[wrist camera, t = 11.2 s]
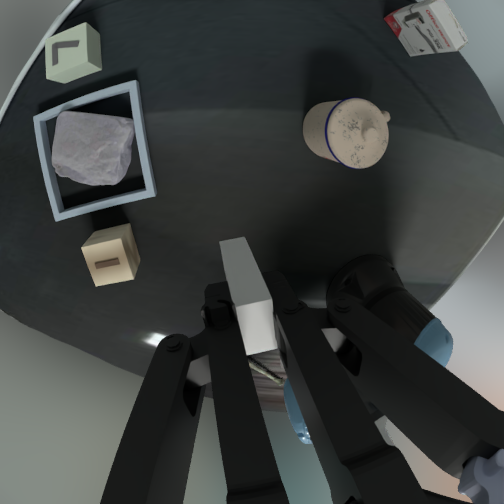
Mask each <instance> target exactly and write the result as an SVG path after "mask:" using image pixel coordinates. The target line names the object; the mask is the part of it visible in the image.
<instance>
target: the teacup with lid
mask: <svg viewBox="0 0 504 504" xmlns="http://www.w3.org/2000/svg"><path fill="white" fill-rule="evenodd" d="M389 120H390V115H389V113H388V112H387V111H380V110H379V109H378V108H377V107H376V106H375V105H374V104H373V103H371V102H369V101H367V100H365V99H362V98H357V97H351V98H346V99H344V100H340V101H331V102H323V103H320V104H317V105H315V106H314V107H313V108H311V109H310V110H309V112H308V113H307V115H306V116H305V119H304V122H303V136H304V139H305V142H306V144H307V145H308V147H309V148H310V149H311V150H312V151H313V152H314V153H315V154H317V155H318V156H320V157H323V158H326V159H330V160H333V161H336V162H339V163H341V164H342V165H344V166H346V167H349V168H352V169H363V168H367V167H369V166H372V165H373V164H375V163H376V162H377V161H378V160H379V159H380V158H381V157H382V156H383V154H384V152H385V150H386V148H387V144H388V138H389V132H388V126H387V122H388V121H389Z"/></svg>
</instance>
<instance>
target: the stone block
mask: <svg viewBox="0 0 504 504" xmlns="http://www.w3.org/2000/svg"><path fill="white" fill-rule="evenodd" d="M56 123H57V124H56V131H55V136H54V143H53V147H52V166H53V167H55V172H56V173H58V175H59V176H61V177H69V178H70V179H72V180H74V181H77V182H80V183H84V184H85V183H86V184H89V185H100V184H101V185H105V184H107V185H114V184H117V183H118V182H120V181H121V179H122V178H123V177H124V176H125V174H126V172H127V169H128V166H129V165H130V161H131V151H132V148H131V144H132V141H133V137H134V133H135V126H134V120H133V119H130V118H124V117H117V116H109V115H101V114H93V113H84V112H74V111H62V112H61V113H60V114H59V116H58V118H57V121H56Z"/></svg>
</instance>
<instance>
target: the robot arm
mask: <svg viewBox="0 0 504 504" xmlns="http://www.w3.org/2000/svg"><path fill="white" fill-rule="evenodd" d="M220 248H221V253H222V258H223V263H224V269H225V274H226V279H227V281H225V282H220V283H214V284H209V285H208V286H207V287H206V289H205V291H204V292H205V304H204V305H203V306H202V309H201V313H202V316H203V320H204V323H205V329H204V330H203V331H202V332H201V333H199V334H198V335H196V336H194V337H191V338H188V337H187V336H185V335H183V334H172V335H169V336H167V337H165V338H164V339H162V340H161V341H160V343H159V344H158V346H157V349H156V351H155V354H154V356H153V358H152V361H151V363H150V366H149V368H148V371H147V373H146V376H145V378H144V381H143V383H142V386H141V388H140V391H139V394H138V396H137V398H136V401H135V404H134V406H133V409H132V412H131V414H130V417H129V420H128V422H127V425H126V428H125V430H124V433H123V436H122V439H121V442H120V444H119V447H118V450H117V453H116V456H115V459H114V462H113V465H112V468H111V471H110V474H109V477H108V480H107V483H106V486H105V489H104V492H103V496H102V499H101V502H100V504H183V500H184V495H185V489H186V484H187V479H188V473H189V467H190V463H191V458H192V453H193V448H194V442H195V437H196V432H197V428H198V423H199V418H200V412H201V407H202V403H203V398H204V393H205V388H206V383H209V382H211V383H212V391H213V399H214V407H215V414H216V421H217V427H218V435H219V442H220V448H221V454H222V460H223V466H224V472H225V478H226V484H227V490H228V493H227V497H226V501H227V504H289V500H288V497H287V494H286V491H285V488H284V486H283V483H282V481H281V477H280V474H279V471H278V467H277V464H276V460H275V457H274V453H273V450H272V446H271V443H270V440H269V436H268V433H267V429H266V425H265V422H264V418H263V414H262V411H261V407H260V403H259V400H258V396H257V392H256V388H255V385H254V381H253V377H252V373H251V369H250V366H249V362H248V358H247V355H250V354H255V353H260V352H264V351H268V350H273V349H277V344H278V346H279V350H280V361H281V368H283V367H284V369H285V371H286V374H287V377H288V378H287V379H286V381H285V384H284V399H285V404H286V409H287V412H288V415H289V418H290V421H291V424H292V426H293V428H294V430H295V432H296V433H297V435H298V437H299V439H300V440H301V441H302V442H303V443H305V444H308V443H309V444H311V443H313V445H314V447H315V450H316V453H317V455H318V458H319V461H320V463H321V466H322V468H323V471H324V473H325V476H326V479H327V481H328V483H329V487H330V490H331V497H332V501H333V504H504V411H501V410H498V409H497V408H496V407H495V406H494V405H492V404H491V403H490V402H489V401H487V400H486V399H485V398H483V397H482V396H481V395H480V394H478V393H477V392H476V391H475V390H473V389H472V388H471V387H469V386H468V385H467V384H465V383H464V382H462V380H460V379H459V378H458V377H456V376H455V375H454V374H453V373H451V372H450V371H449V370H447V369H446V368H445V366H446V365H447V363H448V361H449V358H450V356H451V353H452V349H453V338H452V336H451V334H450V333H449V331H448V330H447V329H446V328H445V327H444V326H443V324H442V323H441V321H440V320H439V319H438V318H436V317H435V316H434V315H433V314H432V313H431V312H430V311H429V310H428V309H426V308H425V307H424V306H423V305H422V304H421V303H420V302H419V301H418V300H417V299H416V298H415V297H413V296H412V295H411V294H410V293H409V292H408V291H407V290H406V289H405V288H404V285H403V283H402V281H401V279H400V277H399V275H398V273H397V271H396V269H395V268H394V266H393V265H392V264H391V263H390V262H388V261H387V260H386V259H385V258H383V257H381V256H378V255H365V256H361V257H359V258H356V259H354V260H353V261H351V262H349V263H348V264H347V265H345V266H344V267H343V268H342V269H341V270H340V271H339V272H338V273H337V275H336V276H335V277H334V279H333V281H332V282H331V284H330V287H329V289H328V292H327V298H326V304H327V308H319V309H317V308H309V307H308V306H307V305H306V304H305V303H304V302H303V301H300V300H298V298H297V297H296V295H295V293H294V291H293V290H292V288H291V286H290V285H289V283H288V281H287V279H286V278H285V276H284V274H282V273H281V272H279V271H277V270H275V271H270V272H266V273H260V270H259V268H258V266H257V264H256V261H255V259H254V257H253V254H252V252H251V250H250V248H249V245H248V243H247V241H246V239H245V237H241V238H236V239H230V240H225V241H220ZM387 419H389V420H390V421H391V422H392V423H393V424H394V425H395V426H396V427H397V428H398V429H399V430H400V431H401V432H402V433H403V434H404V435H405V436H406V437H408V438H409V439H410V440H411V441H412V442H413V443H414V444H415V445H416V446H417V447H418V448H419V449H420V450H421V451H422V452H423V453H424V454H425V455H426V456H427V457H428V458H429V459H431V460H432V461H433V462H434V463H435V464H436V465H437V466H438V467H440V468H441V469H442V470H443V471H445V472H447V473H448V474H450V475H451V476H453V477H455V478H458V479H460V483H459V486H458V492H459V493H460V494H463V495H467V496H468V497H469V498H470V499H471V500H472V502H473V503H469V502H465V501H461V500H457V499H454V498H450V497H446V496H443V495H440V494H437V493H434V492H431V491H428V490H424V489H422V488H421V486H420V485H419V483H418V481H417V479H416V477H415V476H414V474H413V472H412V470H411V468H410V466H409V465H408V463H407V461H406V460H405V457H404V456H403V454H402V453H401V451H400V450H399V449H398V448H397V447H395V445H394V443H393V441H392V439H391V437H390V435H389V434H388V432H387V430H386V428H385V425H386V422H387Z"/></svg>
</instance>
